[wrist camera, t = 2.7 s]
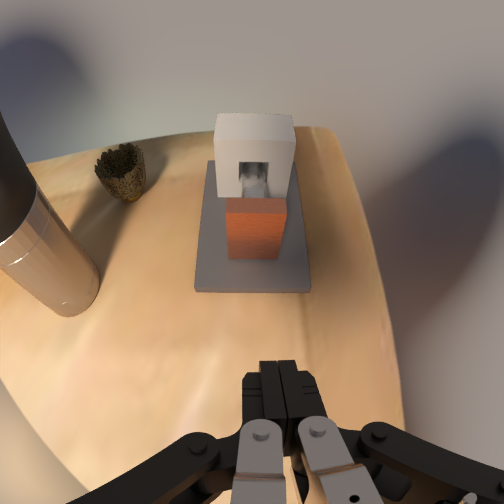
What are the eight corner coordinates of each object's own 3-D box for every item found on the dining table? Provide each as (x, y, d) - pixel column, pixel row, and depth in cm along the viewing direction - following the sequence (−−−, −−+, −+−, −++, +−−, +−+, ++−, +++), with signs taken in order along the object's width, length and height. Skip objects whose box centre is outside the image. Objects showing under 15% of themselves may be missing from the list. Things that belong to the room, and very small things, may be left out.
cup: (149, 173, 47) (139, 136, 40) (157, 204, 43) (146, 166, 36) (108, 188, 45) (93, 152, 38) (112, 220, 42) (94, 184, 35)
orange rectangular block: (228, 259, 37) (225, 213, 29) (231, 189, 42) (230, 140, 35) (277, 259, 37) (287, 214, 29) (272, 190, 43) (279, 142, 35)
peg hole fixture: (195, 292, 36) (178, 238, 26) (208, 167, 48) (203, 106, 37) (308, 292, 37) (334, 239, 26) (293, 168, 48) (304, 108, 38)
